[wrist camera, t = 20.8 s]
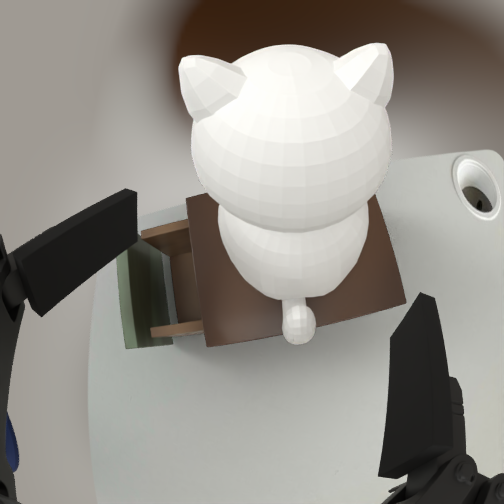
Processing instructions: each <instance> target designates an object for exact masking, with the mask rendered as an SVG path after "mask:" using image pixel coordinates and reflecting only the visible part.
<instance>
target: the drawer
mask: <svg viewBox="0 0 504 504" xmlns="http://www.w3.org/2000/svg"><path fill="white" fill-rule="evenodd" d="M161 252H162V253H164V254H166V255H167V256H169V257H170V265H171V273H172V282H173V289H174V297H175V304H176V311H177V318H178V324H172V325H170V319H169V313H168V305H167V298H166V290H165V282H164V273H163V264H162V254H161ZM116 259H117V276H118V289H119V300H120V310H121V319H122V327H123V334H124V341H125V348H126V349H133V348H144V347H155V346H164V345H172V344H173V339H172V337H177V336H188V335H195V334H201V333H204V329H203V323H202V317H201V311H200V304H199V298H198V291H197V285H196V278H195V271H194V263H193V256H192V248H191V240H190V232H189V223H188V219H185V220H181V221H177V222H173V223H169V224H166V225H162V226H158V227H154V228H150V229H146V230H143V231H141V236H140V235H139V234H138V242H136V243H135V244H133V245H132V246H131V247H129V248H128V249H127V250H125V251H124V252H123V253H121V254H120V255H118V256H117V257H116Z"/></svg>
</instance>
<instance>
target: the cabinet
mask: <svg viewBox="0 0 504 504" xmlns="http://www.w3.org/2000/svg"><path fill="white" fill-rule="evenodd" d="M367 204H368V215H369V224H368V231H367V237H366V240H365V243H364V245H363V248H362V251H361V253H360V256H359V258H358V260H357V263H356V264H355V266H354V267H353V268H352V270H351V271H350V272H349V273H348V275H347V276H346V277H345V278H344V280H343V281H342V282H341V283H340V284H339V285H338V286H337V287H336V288H335V289H334V290H333V291H331V292H329V293H327V294H325V295H324V296H317V297H305V300H306V306H307V307H309V308H310V309H311V310H312V312H313V313H314V316H315V321H316V327H320V326H324V325H328V324H332V323H337V322H341V321H345V320H349V319H353V318H356V317H360V316H364V315H368V314H371V313H375V312H378V311H382V310H386V309H389V308H392V307H396V306H399V305H403V304H406V298H405V294H404V289H403V285H402V281H401V277H400V273H399V269H398V266H397V262H396V258H395V255H394V251H393V248H392V244H391V241H390V238H389V234H388V231H387V228H386V225H385V222H384V219H383V215H382V212H381V210H380V207H379V204H378V201H377V198H376V195H375V194H374V195H373V196H372V197H371V198H370V199H369V200H368V201H367ZM186 205H187V215H188V223H189V232H190V240H191V248H192V256H193V263H194V271H195V278H196V285H197V291H198V298H199V304H200V311H201V317H202V323H203V329H204V335H205V340H206V346H207V347H214V346H221V345H227V344H234V343H240V342H245V341H251V340H257V339H262V338H267V337H273V336H278V335H283V331H282V324H283V308H282V300H277V299H274V298H271V297H268V296H266V295H264V294H263V293H261V292H260V291H258V290H257V289H256V288H254V287H253V286H252V285H251V284H249V283H248V282H247V281H246V280H245V279H244V278H243V277H242V275H241V274H240V273H239V271H238V270H237V268H236V267H235V265H234V264H233V262H232V261H231V259H230V257H229V255H228V253H227V251H226V248H225V246H224V244H223V241H222V238H221V235H220V230H219V225H218V208H219V205H220V204H219V203H217V202H216V201H215V200H214V199H213V198H212V197H211V196H209V194H208V193H204V194H200V195H197V196H192V197H189V198H186Z"/></svg>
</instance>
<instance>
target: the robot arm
mask: <svg viewBox="0 0 504 504" xmlns="http://www.w3.org/2000/svg"><path fill="white" fill-rule="evenodd" d="M136 242H138V232H137V192H135V191H132V190H129V189H124V190H121V191H119V192H117V193H115V194H113V195H111V196H109V197H107V198H105V199H103V200H101V201H100V202H98V203H96V204H94V205H92V206H90V207H88V208H86V209H84V210H83V211H81V212H79V213H77V214H75V215H73V216H72V217H70V218H68V219H66V220H65V221H63V222H61V223H59V224H58V225H56V226H54V227H51V228H49V229H48V230H46V231H44V232H43V233H42V234H39V235H38V236H36V237H35V238H34V239H31V240H30V241H28V242H27V243H25V244H23V245H22V246H20V247H19V248H17V249H16V250H14V251H13V252H11V253H9V254H8V255H7V253H6V250H5V246H4V242H3V239H2V236H1V234H0V504H21V503H19V502H17V497H16V490H15V489H16V488H15V479H14V474H13V471H12V468H11V467H10V465H9V463H8V461H7V458H6V418H7V404H8V394H9V386H10V378H11V371H12V365H13V359H14V353H15V348H16V343H17V338H18V334H19V329H20V325H21V321H22V317H23V313H24V310H25V304H24V300H25V299H26V298H28V300H29V303H30V305H31V308H32V309H33V310H34V311H35V312H36V313H37V314H38V315H39V316H41V317H43V316H44V315H45V314H46V313H47V312H48V311H50V310H51V309H52V308H53V307H54V306H55V305H56V304H57V303H59V302H60V301H61V300H62V299H64V298H65V297H66V296H67V295H69V294H70V293H71V292H72V291H73V290H75V289H76V288H77V287H78V286H80V285H81V284H82V283H83V282H85V281H86V280H87V279H89V278H90V277H91V276H92V275H93V274H95V273H96V272H97V271H99V270H100V269H101V268H103V267H104V266H105V265H107V264H108V263H109V262H111V261H112V260H113V259H114V258H116V257H117V256H118V255H120V254H121V253H123V252H124V251H125V250H127V249H128V248H129V247H131V246H132V245H133V244H135V243H136ZM462 404H463V397H462V390H461V388H460V386H459V383H458V381H457V379H456V378H453V377H450V376H449V372H448V365H447V358H446V351H445V345H444V339H443V334H442V329H441V324H440V319H439V314H438V310H437V305H436V301H435V298H434V297H431V296H428V295H426V294H423V293H421V292H420V293H419V295H418V296H417V298H416V300H415V301H414V303H413V304H412V306H411V308H410V309H409V311H408V312H407V314H406V315H405V317H404V318H403V320H402V321H401V323H400V324H399V326H398V327H397V329H396V330H395V332H394V333H393V334H392V336H391V337H390V367H389V388H388V402H387V414H386V423H385V432H384V440H383V447H382V454H381V461H380V467H379V472H378V477H385V478H392V479H398V478H400V477H402V476H404V475H406V474H408V477H407V482H405V483H403V484H401V485H399V486H396V487H394V488H392V489H391V490H389V491H388V492H389V493H391V492H394V491H395V492H394V493H393V494H392V495H391V496H389V497H388V498H387V499H386V500H385V501H384V502H383V503H382V504H504V473H501V474H498V475H496V476H494V477H493V478H491V479H490V478H488V477H486V476H484V475H482V474H480V473H478V471H477V466H476V463H475V461H474V460H473V458H472V457H470V456H469V455H467V454H466V435H465V418H464V416H463V414H464V407H463V406H462Z"/></svg>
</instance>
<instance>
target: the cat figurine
mask: <svg viewBox="0 0 504 504" xmlns="http://www.w3.org/2000/svg"><path fill="white" fill-rule="evenodd" d="M178 69H179V76H180V85H181V93H182V96H183V99H184V102H185V104H186V107H187V110H188V112H189V114H190V115H191V116H192V117H193V119H194V120H193V125H192V136H191V153H192V159H193V163H194V166H195V170H196V173H197V175H198V178H199V181H200V183H201V184H202V186H203V187H204V188H205V190H206V191H207V193H208V194H209V196H211V197H212V198H213V199H214V200H215V201H216V202H217V203H219V204H220V205H219V208H218V225H219V230H220V235H221V238H222V241H223V244H224V246H225V248H226V251H227V253H228V255H229V257H230V259H231V261H232V262H233V264H234V265H235V267H236V268H237V270H238V271H239V273H240V274H241V275H242V277H243V278H244V279H245V280H246V281H247V282H248V283H249V284H251V285H252V286H253V287H254V288H256V289H257V290H258V291H260V292H261V293H263V294H264V295H266V296H268V297H271V298H274V299H277V300H282V308H283V324H282V331H283V335H284V338H285V339H286V340H287V342H289V343H291V344H296V345H300V344H304V343H307V342H308V341H309V340H311V339H312V338H313V336H314V334H315V328H316V321H315V316H314V313H313V312H312V310H311V309H310V308H309V307H307V306H306V300H305V297H317V296H324V295H325V294H327V293H329V292H331V291H333V290H334V289H335V288H336V287H337V286H338V285H339V284H340V283H341V282H342V281H343V280H344V278H345V277H346V276H347V275H348V273H349V272H350V271H351V270H352V268H353V267H354V266H355V264H356V263H357V260H358V258H359V256H360V253H361V251H362V248H363V245H364V243H365V240H366V237H367V231H368V224H369V215H368V204H367V201H368V200H369V199H370V198H371V197H372V196H373V195H374V194H375V193H376V191H377V190H378V188H379V187H380V185H381V184H382V182H383V181H384V179H385V176H386V173H387V170H388V167H389V163H390V160H391V156H392V135H391V126H390V122H389V118H388V114H387V112H386V109H385V107H386V105H387V104H388V102H389V100H390V98H391V92H392V87H393V79H394V75H393V63H392V58H391V53H390V51H389V49H388V47H387V45H386V44H382V43H373V44H368V45H365V46H362V47H359V48H357V49H354V50H353V51H351V52H349V53H347V54H346V55H344V56H342V57H341V58H338V57H336V56H334V55H332V54H329V53H327V52H324V51H321V50H317V49H314V48H310V47H306V46H300V45H277V46H271V47H267V48H263V49H260V50H257V51H255V52H252V53H250V54H248V55H246V56H244V57H241V58H240V59H238V60H237V61H235V62H234V63H232V64H230V63H227V62H225V61H222V60H220V59H217V58H212V57H207V56H202V55H194V56H187V57H184V58H182V60H181V63H180V65H179V67H178Z"/></svg>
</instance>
